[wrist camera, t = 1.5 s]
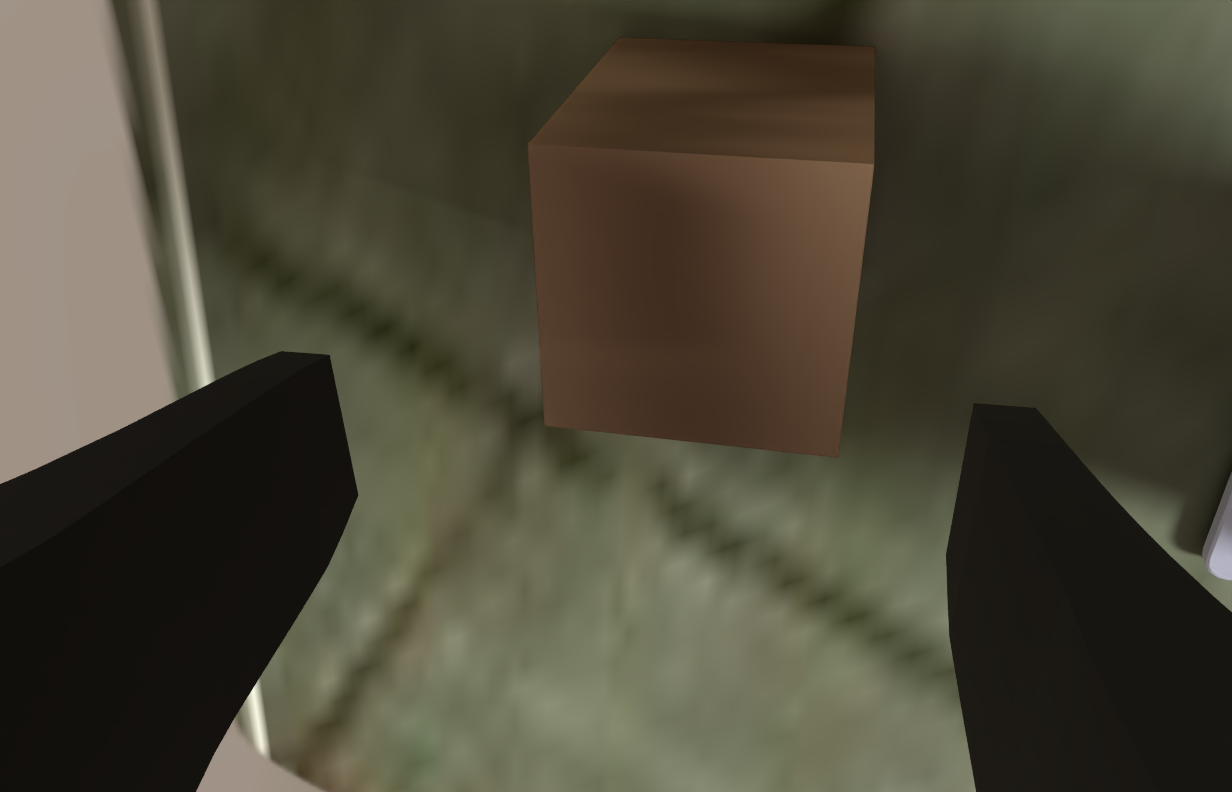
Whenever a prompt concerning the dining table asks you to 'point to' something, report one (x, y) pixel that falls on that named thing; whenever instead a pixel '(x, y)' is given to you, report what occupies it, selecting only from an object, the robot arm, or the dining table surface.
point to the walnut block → (705, 241)
